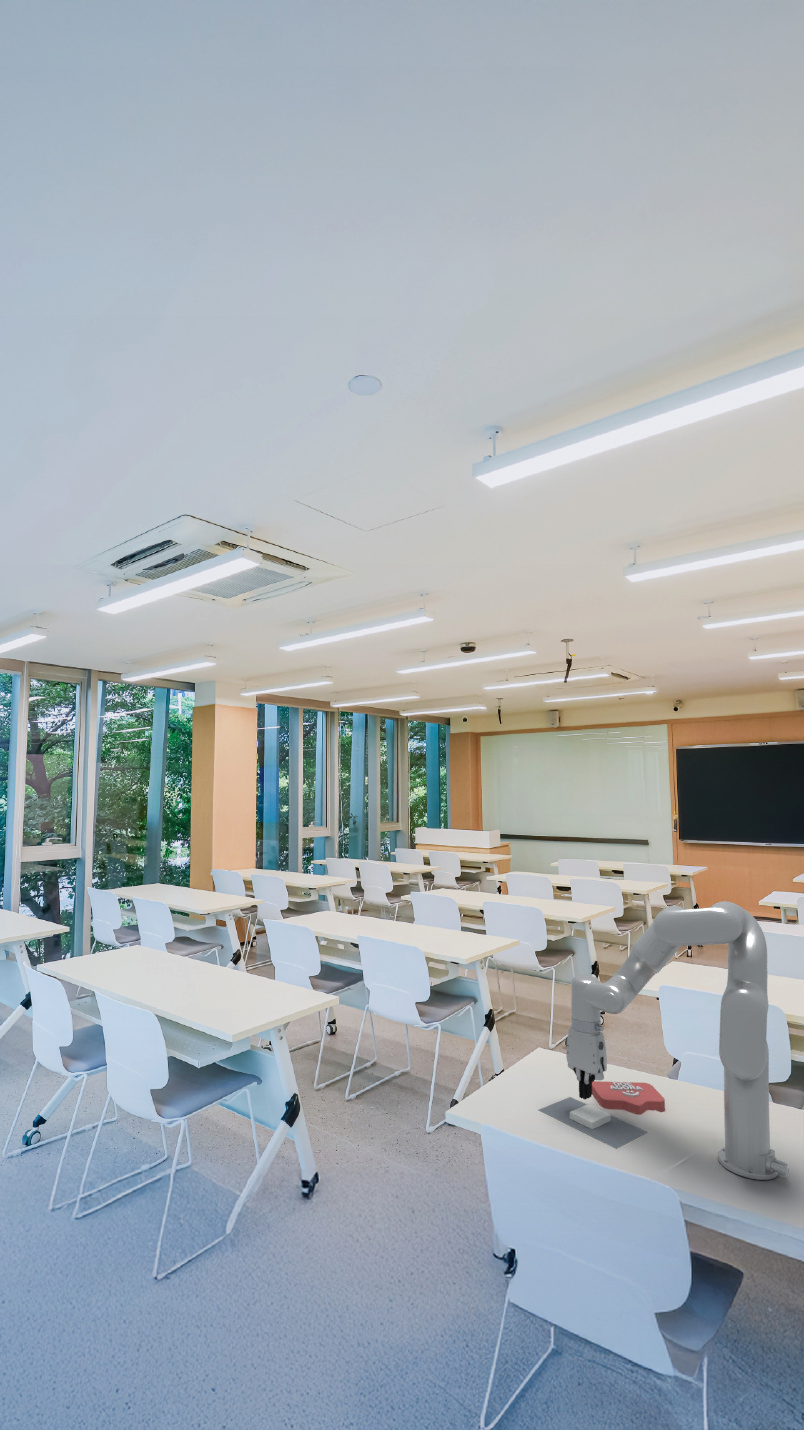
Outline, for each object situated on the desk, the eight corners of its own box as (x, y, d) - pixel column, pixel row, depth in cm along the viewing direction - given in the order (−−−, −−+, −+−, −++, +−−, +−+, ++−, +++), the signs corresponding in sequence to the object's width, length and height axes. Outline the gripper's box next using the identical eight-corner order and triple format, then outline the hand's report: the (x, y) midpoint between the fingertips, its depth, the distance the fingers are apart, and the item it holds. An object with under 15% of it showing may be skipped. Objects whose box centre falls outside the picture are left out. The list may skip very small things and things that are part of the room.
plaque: (606, 1102, 180) (588, 1078, 195) (606, 1117, 180) (588, 1092, 195) (671, 1104, 181) (649, 1080, 196) (671, 1119, 180) (649, 1094, 195)
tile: (610, 1114, 176) (588, 1104, 181) (592, 1122, 171) (569, 1112, 176) (610, 1121, 176) (588, 1110, 181) (592, 1129, 171) (569, 1118, 176)
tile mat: (647, 1134, 171) (647, 1132, 171) (616, 1150, 162) (616, 1148, 162) (570, 1098, 189) (570, 1096, 189) (537, 1111, 181) (538, 1110, 181)
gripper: (618, 1030, 176) (618, 1104, 174) (571, 1014, 188) (570, 1083, 186) (601, 1036, 172) (601, 1112, 170) (554, 1019, 183) (553, 1090, 181)
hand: (585, 1097), depth 178 cm, fingers closed
